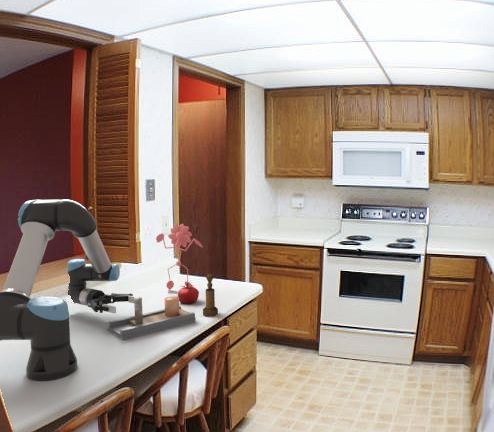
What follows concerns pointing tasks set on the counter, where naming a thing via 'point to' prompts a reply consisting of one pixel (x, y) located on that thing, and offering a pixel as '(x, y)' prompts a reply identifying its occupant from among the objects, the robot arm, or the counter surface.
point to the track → (147, 324)
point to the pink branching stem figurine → (178, 245)
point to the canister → (171, 306)
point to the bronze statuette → (210, 299)
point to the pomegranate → (188, 294)
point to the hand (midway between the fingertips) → (128, 305)
